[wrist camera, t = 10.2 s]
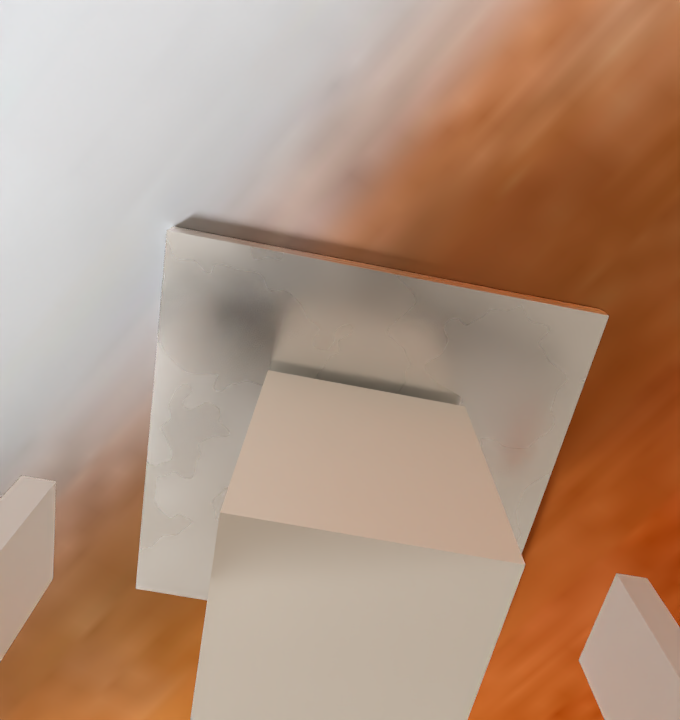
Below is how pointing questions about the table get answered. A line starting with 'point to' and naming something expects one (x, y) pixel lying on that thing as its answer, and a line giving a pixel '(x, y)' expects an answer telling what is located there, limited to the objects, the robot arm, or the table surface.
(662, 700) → the robot arm
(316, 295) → the square grey base plate
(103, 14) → the table surface
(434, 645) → the cream cube
